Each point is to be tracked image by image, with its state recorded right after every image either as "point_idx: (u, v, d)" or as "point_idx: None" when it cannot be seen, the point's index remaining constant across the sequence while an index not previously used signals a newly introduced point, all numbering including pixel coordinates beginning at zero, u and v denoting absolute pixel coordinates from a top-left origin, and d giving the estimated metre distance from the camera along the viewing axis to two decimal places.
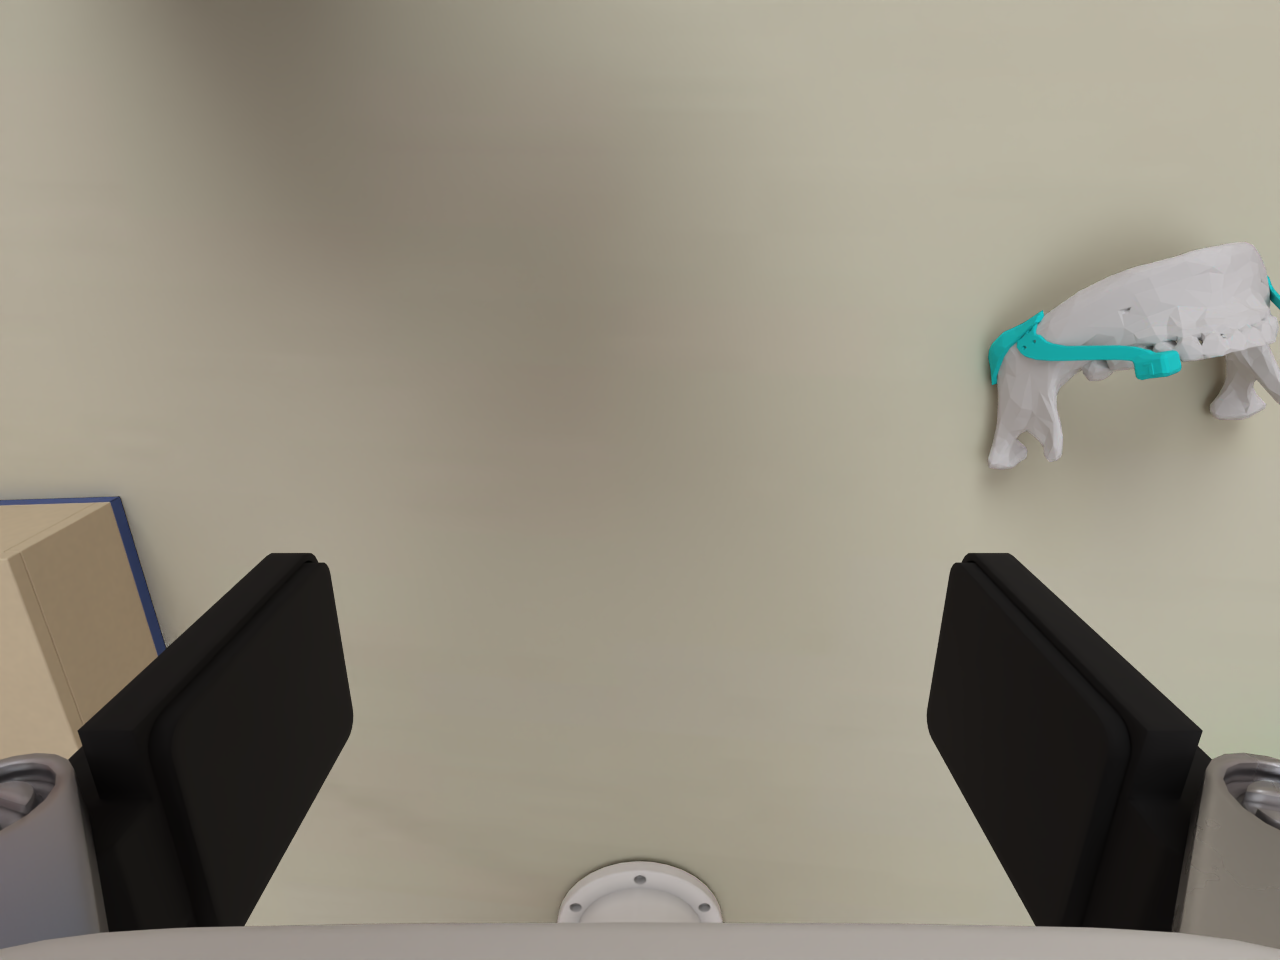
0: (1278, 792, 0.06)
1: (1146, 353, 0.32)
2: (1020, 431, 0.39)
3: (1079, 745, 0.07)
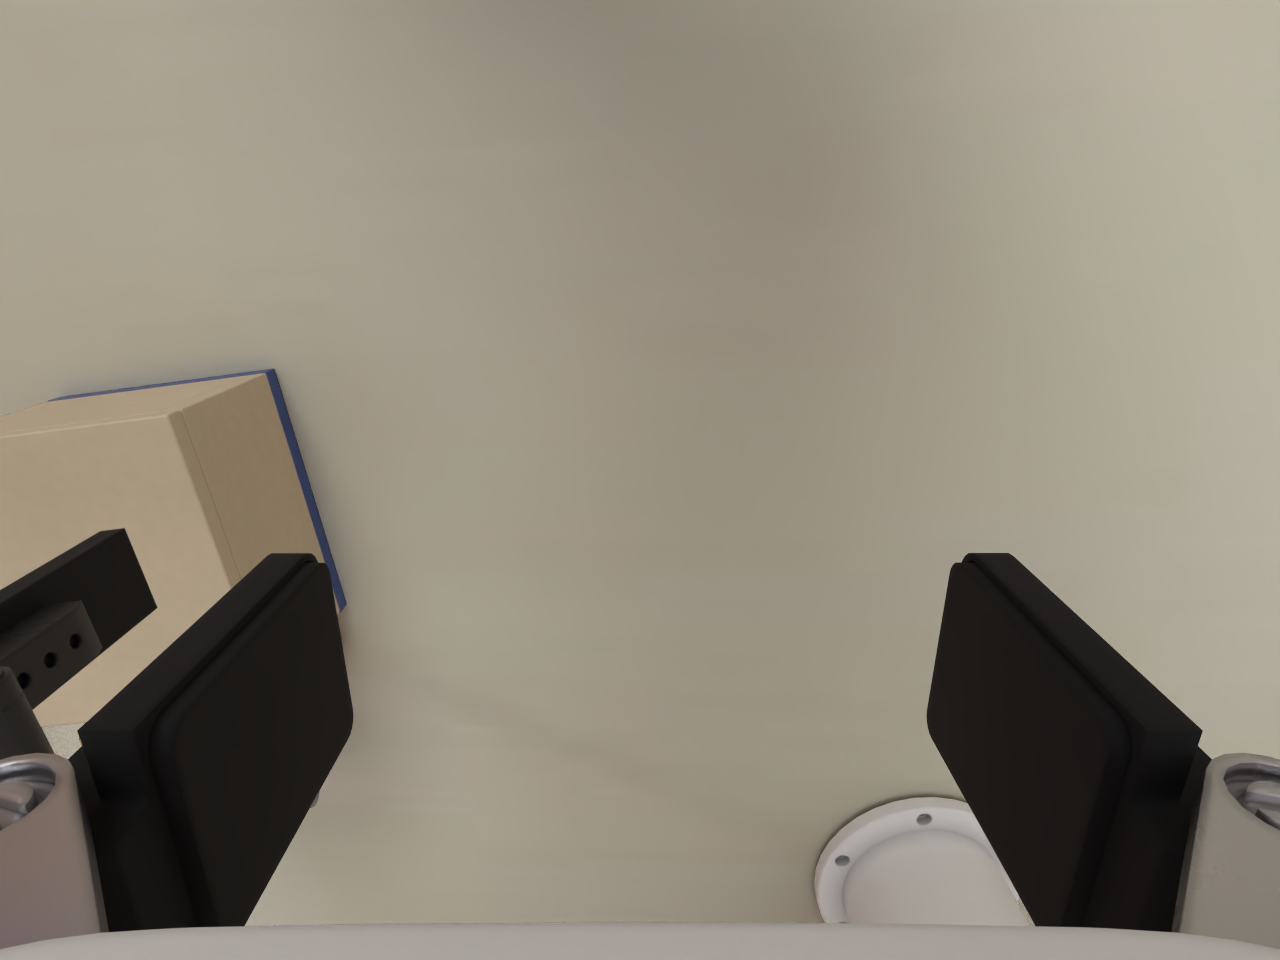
0: (1279, 792, 0.06)
1: None
2: None
3: (1079, 745, 0.07)
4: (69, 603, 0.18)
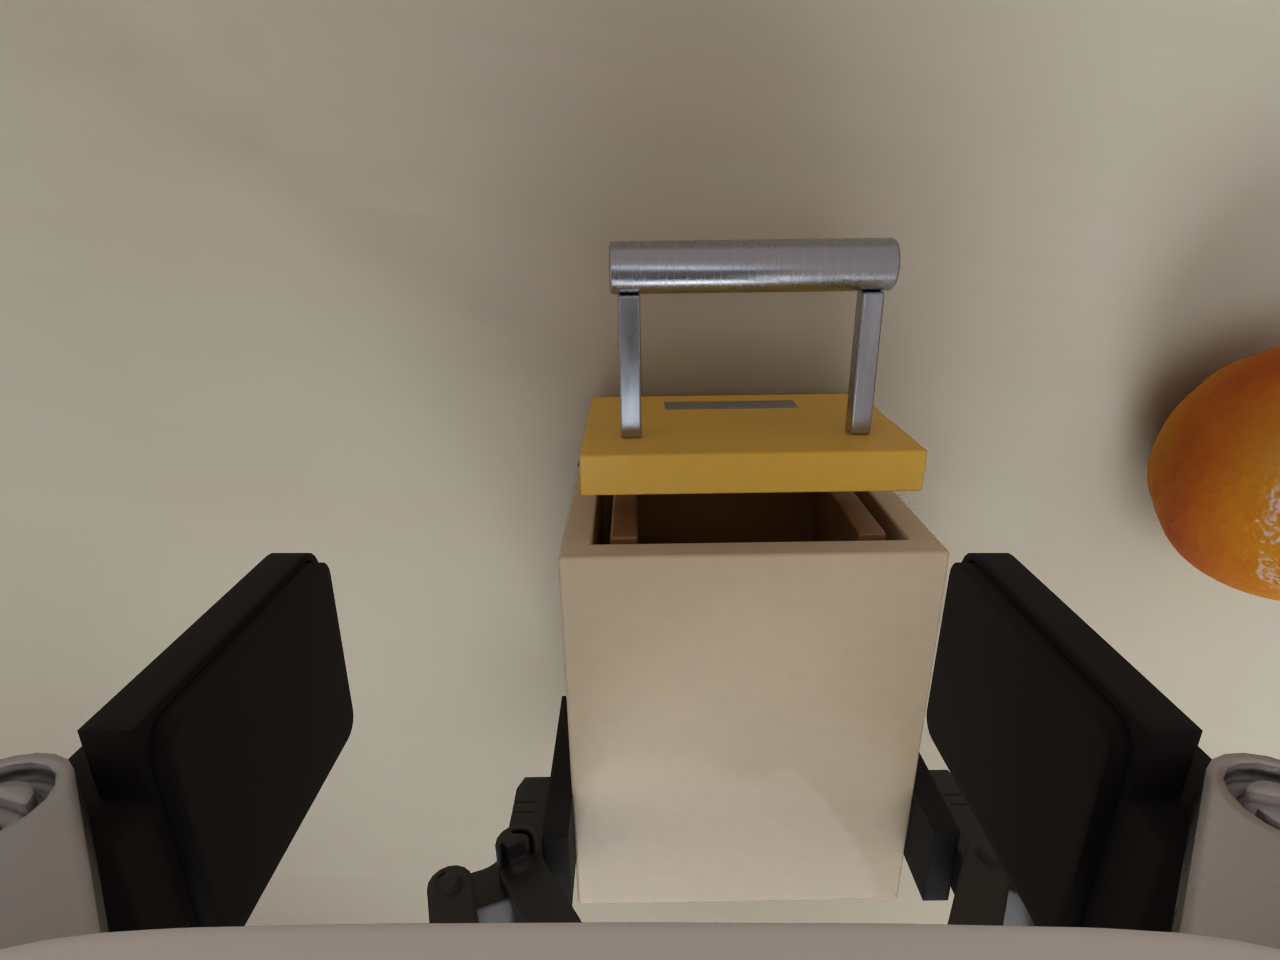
0: (1279, 792, 0.06)
1: None
2: None
3: (1079, 745, 0.07)
4: None
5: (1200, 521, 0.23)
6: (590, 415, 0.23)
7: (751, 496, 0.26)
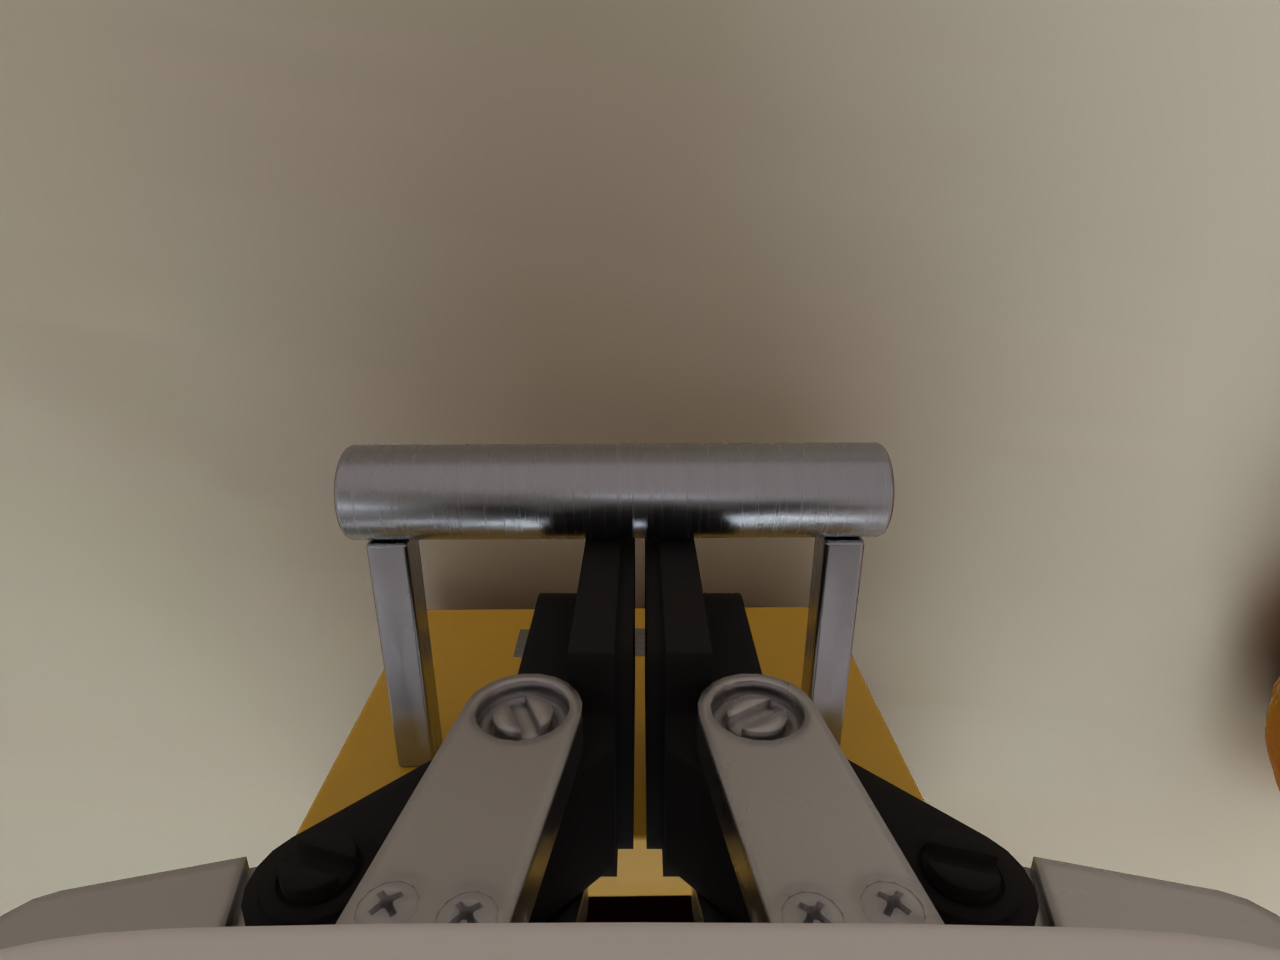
0: (745, 705, 0.07)
1: None
2: None
3: None
4: None
5: None
6: (384, 674, 0.14)
7: None
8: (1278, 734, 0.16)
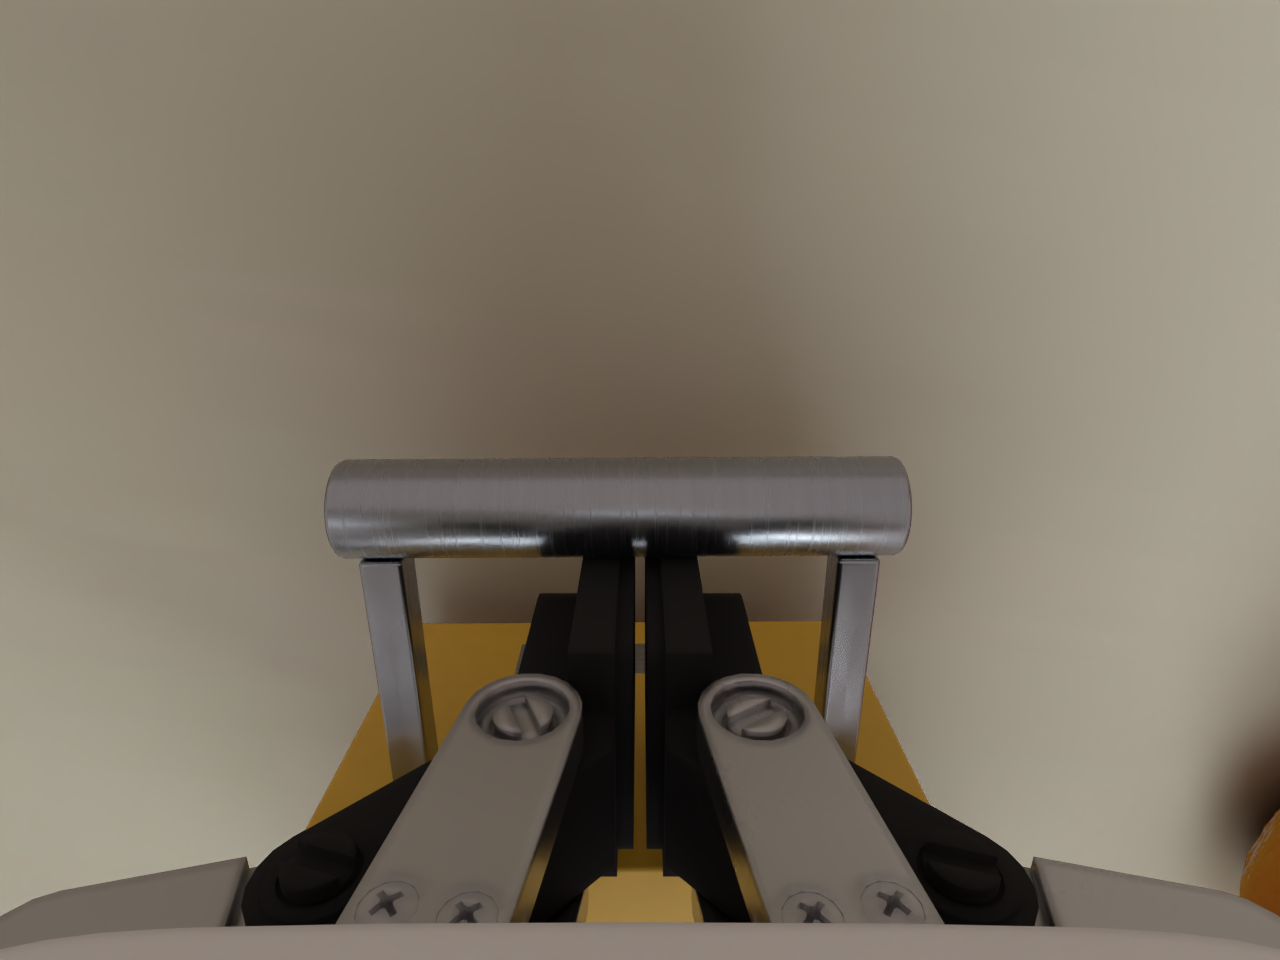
0: (745, 705, 0.07)
1: None
2: None
3: None
4: None
5: None
6: None
7: None
8: None
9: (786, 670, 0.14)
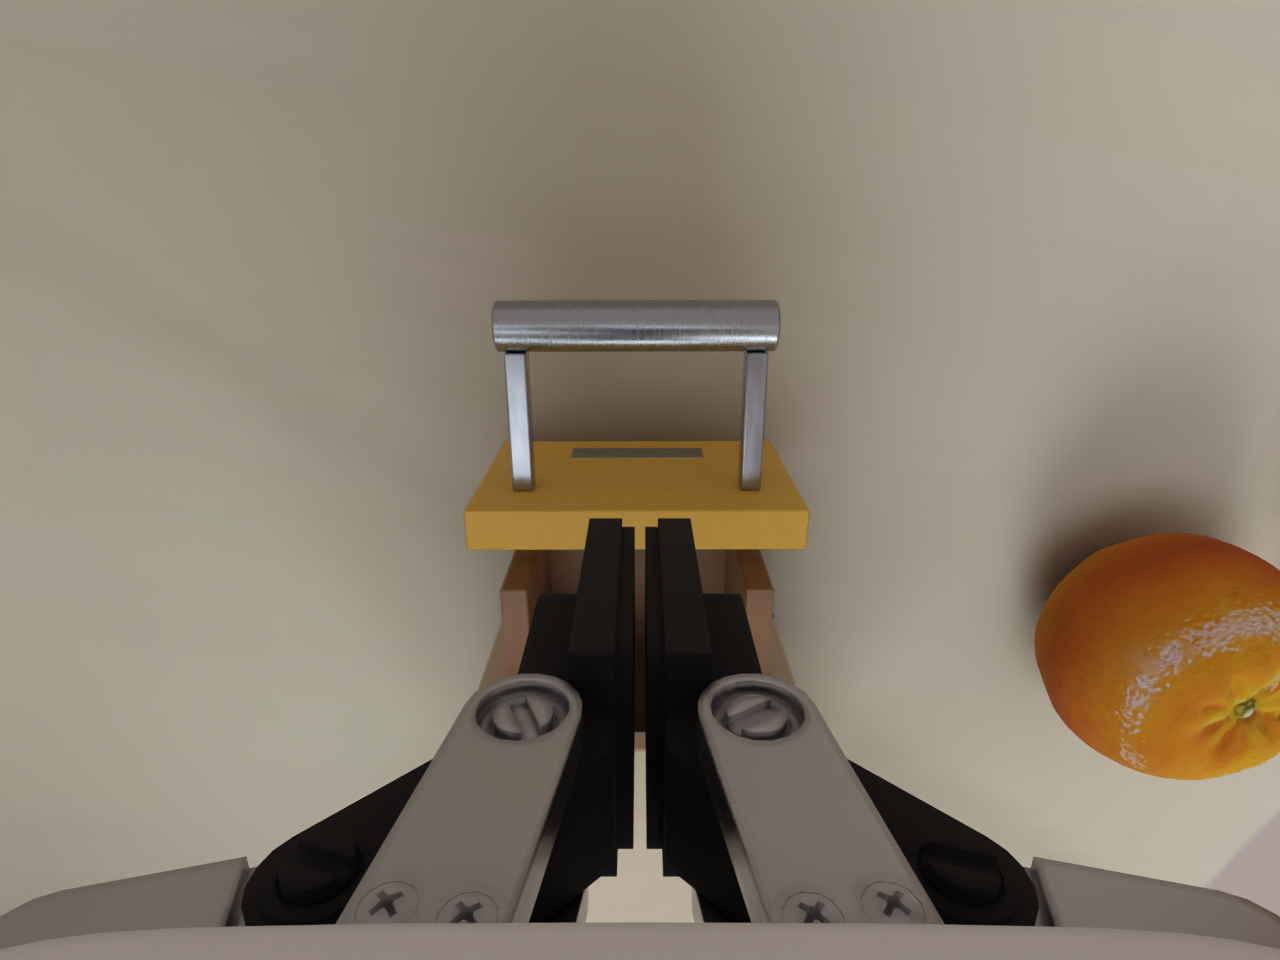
0: (745, 704, 0.07)
1: None
2: None
3: None
4: None
5: (1072, 702, 0.25)
6: (494, 463, 0.23)
7: None
8: (1036, 640, 0.27)
9: (732, 457, 0.24)
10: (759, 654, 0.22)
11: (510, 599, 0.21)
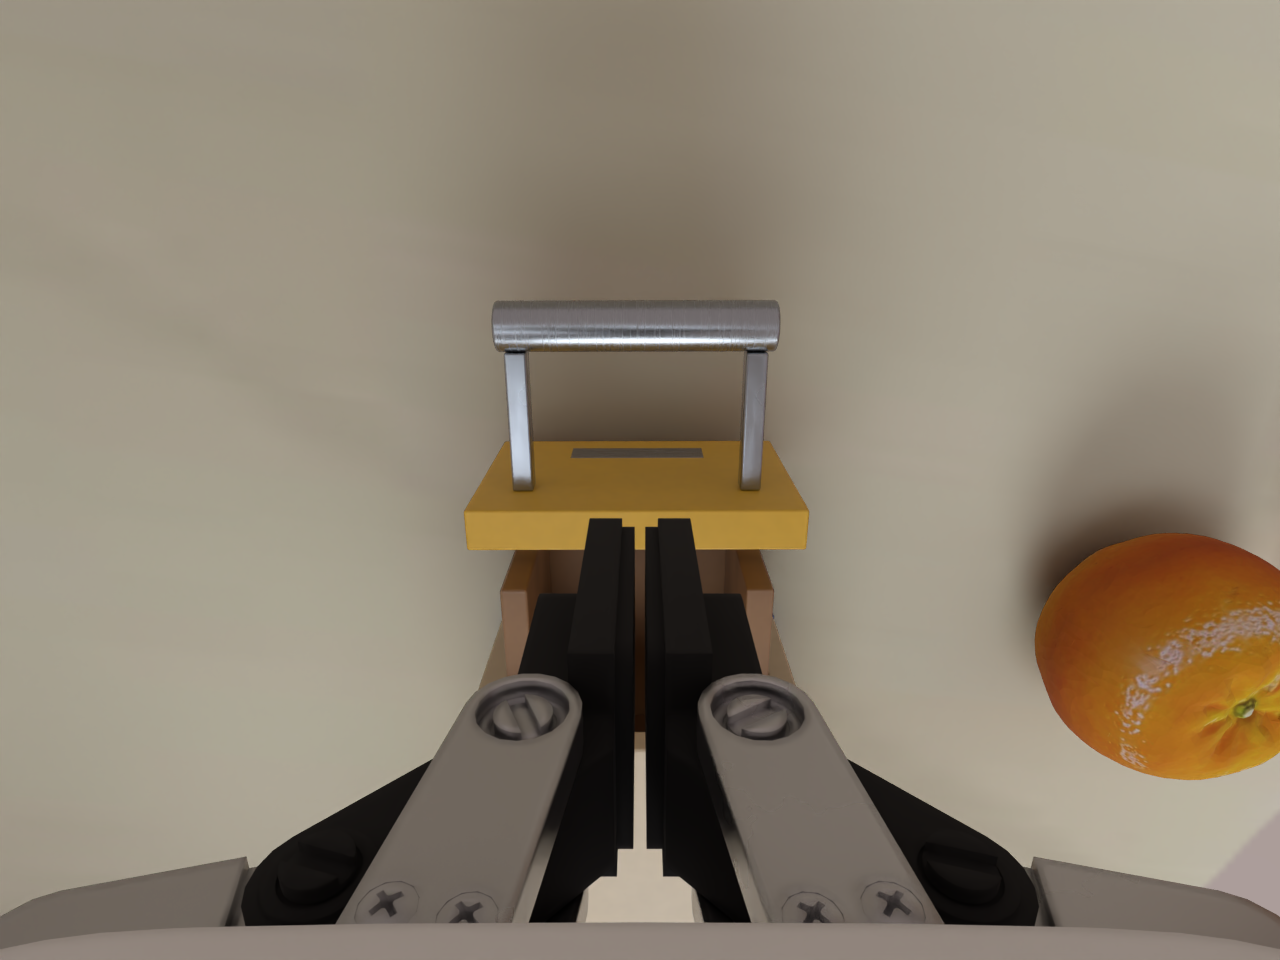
0: (745, 704, 0.07)
1: None
2: None
3: None
4: None
5: (1072, 702, 0.25)
6: (494, 463, 0.23)
7: None
8: (1036, 640, 0.27)
9: (732, 457, 0.24)
10: (759, 654, 0.22)
11: (510, 599, 0.21)
